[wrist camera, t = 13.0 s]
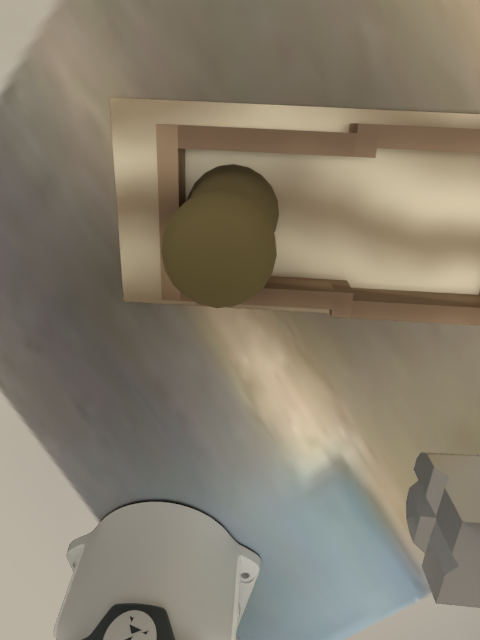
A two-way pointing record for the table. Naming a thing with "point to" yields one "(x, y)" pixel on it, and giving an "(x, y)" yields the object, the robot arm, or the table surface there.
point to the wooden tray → (315, 202)
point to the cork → (223, 237)
